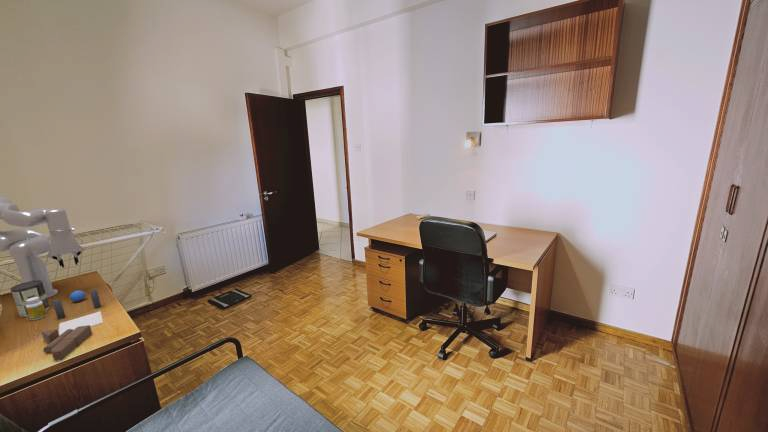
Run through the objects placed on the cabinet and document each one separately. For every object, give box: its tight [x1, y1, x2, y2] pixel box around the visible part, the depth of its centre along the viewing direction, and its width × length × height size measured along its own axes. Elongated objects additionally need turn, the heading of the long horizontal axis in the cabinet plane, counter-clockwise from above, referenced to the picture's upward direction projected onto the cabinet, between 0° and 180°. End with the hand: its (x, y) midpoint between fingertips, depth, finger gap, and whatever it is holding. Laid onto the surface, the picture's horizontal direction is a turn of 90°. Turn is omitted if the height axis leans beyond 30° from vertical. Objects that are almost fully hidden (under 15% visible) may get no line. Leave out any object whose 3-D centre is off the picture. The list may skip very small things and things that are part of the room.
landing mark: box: [58, 310, 104, 336], centre depth 139 cm, size 14×14×1 cm
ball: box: [69, 290, 86, 303], centre depth 159 cm, size 6×6×6 cm
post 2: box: [89, 289, 102, 309], centre depth 152 cm, size 3×3×9 cm
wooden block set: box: [40, 325, 93, 361], centre depth 121 cm, size 17×6×18 cm
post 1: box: [51, 298, 66, 320], centre depth 143 cm, size 3×3×9 cm
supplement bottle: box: [26, 297, 47, 321], centre depth 143 cm, size 5×5×10 cm
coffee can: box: [9, 280, 51, 317], centre depth 149 cm, size 10×10×14 cm
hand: (69, 265), depth 162 cm, fingers open, 4 cm apart
